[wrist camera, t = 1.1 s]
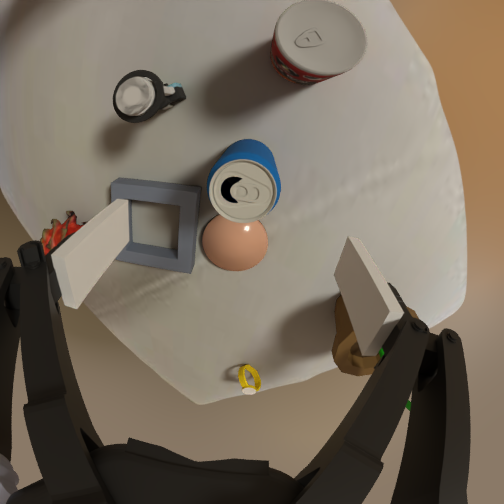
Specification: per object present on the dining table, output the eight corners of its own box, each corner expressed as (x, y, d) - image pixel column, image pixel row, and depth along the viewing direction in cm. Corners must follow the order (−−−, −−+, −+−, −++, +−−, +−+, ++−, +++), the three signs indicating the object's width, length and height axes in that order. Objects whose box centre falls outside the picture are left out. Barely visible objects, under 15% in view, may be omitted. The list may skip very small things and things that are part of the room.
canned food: (256, 55, 25) (254, 31, 16) (303, 18, 22) (321, -16, 13) (302, 98, 28) (322, 93, 18) (347, 61, 25) (384, 45, 15)
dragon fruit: (58, 232, 40) (108, 212, 40) (63, 278, 39) (115, 262, 38) (27, 223, 31) (79, 197, 31) (30, 276, 30) (84, 257, 30)
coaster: (206, 205, 35) (205, 208, 35) (273, 216, 36) (274, 219, 35) (201, 262, 40) (200, 265, 39) (261, 272, 40) (261, 275, 40)
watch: (236, 362, 52) (233, 385, 47) (247, 358, 52) (244, 381, 46) (253, 377, 54) (251, 399, 49) (264, 373, 53) (263, 396, 48)
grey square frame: (119, 177, 33) (110, 182, 31) (201, 187, 34) (197, 193, 32) (122, 251, 39) (115, 259, 37) (194, 264, 40) (190, 273, 38)
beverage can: (226, 134, 31) (209, 148, 20) (279, 143, 31) (289, 162, 21) (219, 183, 34) (200, 221, 23) (268, 192, 34) (272, 233, 24)
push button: (147, 128, 30) (108, 139, 21) (133, 94, 28) (91, 94, 19) (193, 107, 29) (167, 107, 20) (179, 70, 26) (148, 59, 18)
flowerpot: (397, 320, 45) (451, 458, 20) (327, 340, 48) (354, 493, 22) (399, 259, 39) (492, 423, 13) (316, 282, 41) (358, 481, 15)
